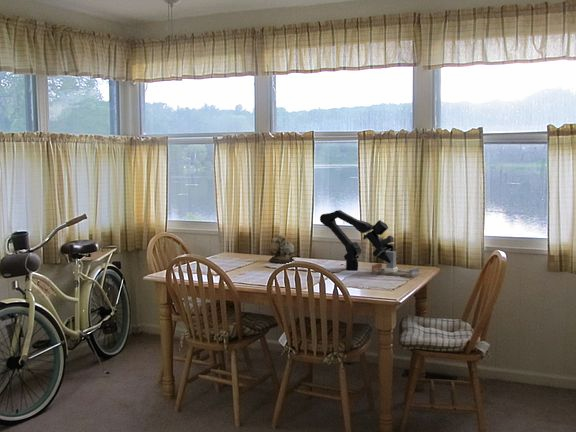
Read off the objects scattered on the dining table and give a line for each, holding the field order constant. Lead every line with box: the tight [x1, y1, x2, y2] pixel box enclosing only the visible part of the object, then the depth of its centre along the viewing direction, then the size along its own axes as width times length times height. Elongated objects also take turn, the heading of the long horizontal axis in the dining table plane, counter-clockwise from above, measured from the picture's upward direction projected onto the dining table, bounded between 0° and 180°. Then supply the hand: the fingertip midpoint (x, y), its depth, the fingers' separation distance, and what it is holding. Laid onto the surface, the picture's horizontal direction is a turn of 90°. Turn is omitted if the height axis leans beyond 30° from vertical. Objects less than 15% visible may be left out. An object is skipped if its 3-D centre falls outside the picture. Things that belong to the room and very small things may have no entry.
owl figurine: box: [267, 234, 296, 265], centre depth 369 cm, size 18×12×17 cm, turn 73°
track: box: [371, 262, 420, 279], centre depth 330 cm, size 24×10×4 cm, turn 58°
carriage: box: [384, 250, 399, 272], centre depth 331 cm, size 6×6×11 cm
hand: (393, 261), depth 330 cm, fingers open, 9 cm apart
